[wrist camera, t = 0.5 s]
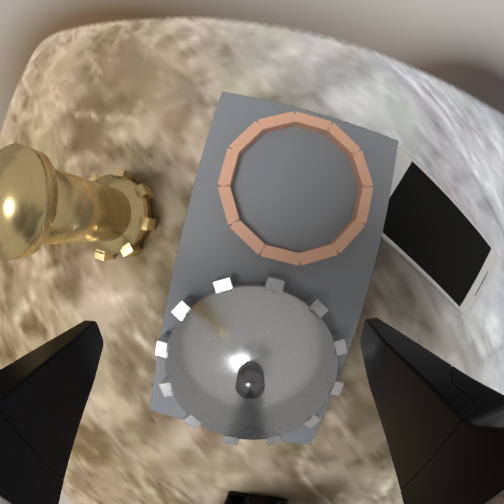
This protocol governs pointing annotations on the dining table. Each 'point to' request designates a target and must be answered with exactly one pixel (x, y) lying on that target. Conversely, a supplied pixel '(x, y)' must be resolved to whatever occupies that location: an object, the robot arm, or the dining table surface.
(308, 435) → the gear board
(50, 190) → the gold piece
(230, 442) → the gear
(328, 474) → the dining table surface
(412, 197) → the smartphone
